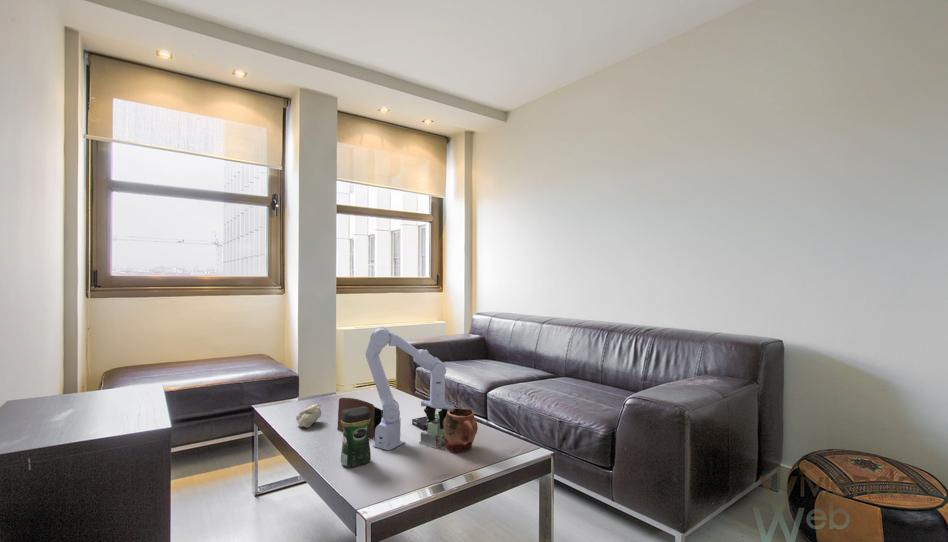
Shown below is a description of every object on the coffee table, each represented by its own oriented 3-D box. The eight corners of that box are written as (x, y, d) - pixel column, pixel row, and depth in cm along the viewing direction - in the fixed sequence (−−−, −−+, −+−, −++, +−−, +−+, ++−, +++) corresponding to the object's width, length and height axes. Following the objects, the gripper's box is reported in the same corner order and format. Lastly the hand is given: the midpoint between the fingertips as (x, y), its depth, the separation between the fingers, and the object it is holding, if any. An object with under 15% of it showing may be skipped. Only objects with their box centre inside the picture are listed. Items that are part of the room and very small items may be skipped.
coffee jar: (364, 455, 156) (364, 402, 156) (373, 463, 149) (374, 408, 150) (337, 462, 150) (338, 407, 150) (345, 470, 144) (346, 413, 144)
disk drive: (423, 432, 181) (453, 425, 190) (423, 425, 181) (453, 418, 190) (411, 425, 189) (440, 418, 198) (411, 419, 189) (440, 412, 198)
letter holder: (372, 439, 171) (373, 403, 172) (336, 430, 181) (337, 395, 182) (389, 431, 180) (390, 397, 180) (354, 423, 190) (355, 390, 190)
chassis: (436, 448, 163) (436, 436, 163) (419, 443, 167) (419, 432, 167) (454, 437, 173) (454, 427, 174) (437, 433, 178) (438, 423, 178)
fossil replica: (295, 431, 180) (320, 430, 183) (297, 411, 180) (322, 410, 183) (295, 419, 191) (319, 419, 195) (297, 401, 191) (321, 400, 194)
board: (437, 436, 166) (437, 423, 167) (427, 433, 169) (427, 421, 169) (447, 430, 172) (447, 418, 173) (438, 428, 175) (438, 416, 175)
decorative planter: (489, 456, 156) (489, 416, 156) (459, 463, 150) (459, 422, 150) (461, 438, 173) (462, 402, 174) (433, 443, 167) (434, 407, 167)
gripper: (458, 392, 170) (458, 427, 170) (428, 387, 178) (428, 421, 177) (448, 396, 164) (448, 433, 164) (417, 391, 172) (417, 426, 171)
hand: (437, 427), depth 170 cm, fingers closed on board, 4 cm apart
